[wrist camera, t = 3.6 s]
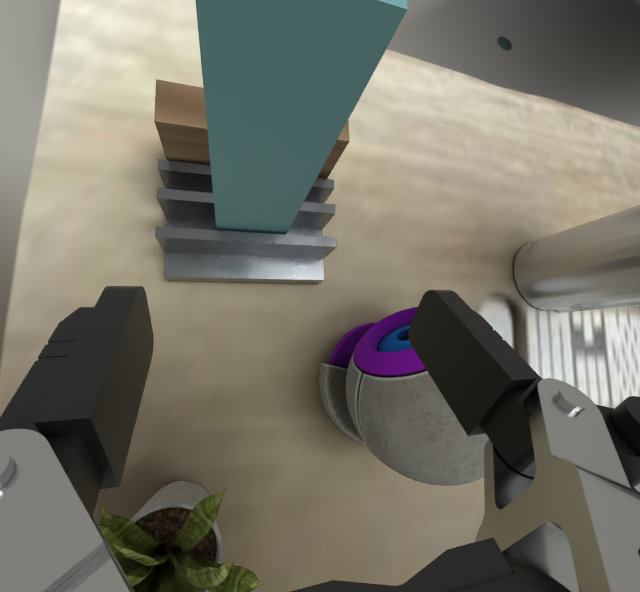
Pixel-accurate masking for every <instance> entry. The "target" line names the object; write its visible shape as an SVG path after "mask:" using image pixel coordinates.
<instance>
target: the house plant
mask: <svg viewBox="0 0 640 592" xmlns="http://www.w3.org/2000/svg"><path fill="white" fill-rule="evenodd" d="M225 490H226V489H225ZM225 490H224V491H222V492H221V493H219V494H216V495H212V496H209V494H208V492H207V491H206V490H205V489H204V487H202V486H200V485H198V484H196V483H193V482H189V481H181V480H180V481H176V482H172V483H170V484H168V485H166V486H164V487H162V488H161V489H160V490H159V491H158V492H157V493H156V494H155V495H154V496H153V497H152V498H151V499H150V500H149V501H148V502H147V503H146V504H145V505H144V506H143V507H142V508H141V509H140V510H139V511H138V512H137V513H136V514H135V515H134V516H133V518H132V519H131V520H128V519H125V518H123V517H119V516H115V515H113V514H111V513H109V512H107V511H105V510H104V508H103V507H102V516H101V522H100V525H98V526H99V528H100V530H101V531H102V533H103V535H104V537H105V539H106V540H107V542H108V544H109V546H110V548H111V549H112V551H113V553H114V555H115V556H116V558H117V560H118V562H119V564H120V565H121V567H122V569H123V571H124V573H125V574H126V576H127V578H128V580H129V581H130V583H131V585H132V587H133V589H134V590H135V592H249V591H251V590H253V589H255V588H256V587H258V586H260V585H261V584H263V583H264V582H260V581H259V579H258V578H257V577H256V575H255V574H254V573H253V572H252V571H250V570H248V569H246V568H243V567H240V566H235V565H233V563H234V561H233V563H224V564H221V560H222V553H223V549H222V540H221V535H220V531H219V527H218V524H217V520H216V517H217V513H218V509H219V505H220V502H221V499H222V496H223V494H224V492H225Z"/></svg>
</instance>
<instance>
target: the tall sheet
mask: <svg viewBox="0 0 640 592" xmlns="http://www.w3.org/2000/svg"><path fill="white" fill-rule="evenodd" d="M196 9H197V20H198V31H199V42H200V53H201V64H202V75H203V87H204V98H205V109H206V120H207V131H208V142H209V153H210V164H211V175H212V186H213V197H214V208H215V219H216V230H220V231H236V232H251V233H267V234H283V235H286V234H287V232H288V230H289V228H290V227H291V225H292V223H293V221H294V219H295V217H296V215H297V214H298V212H299V210H300V208H301V206H302V204H303V202H304V201H305V199H306V197H307V195H308V193H309V191H310V189H311V188H312V186H313V184H314V182H315V180H316V178H317V176H318V175H319V173H320V171H321V169H322V167H323V165H324V163H325V162H326V160H327V158H328V156H329V154H330V152H331V150H332V149H333V147H334V145H335V143H336V141H337V139H338V137H339V136H340V134H341V132H342V130H343V128H344V126H345V124H346V123H347V121H348V119H349V117H350V115H351V113H352V111H353V110H354V108H355V106H356V104H357V102H358V100H359V98H360V97H361V95H362V93H363V91H364V89H365V87H366V85H367V84H368V82H369V80H370V78H371V76H372V74H373V72H374V71H375V69H376V67H377V65H378V63H379V61H380V59H381V58H382V56H383V54H384V52H385V50H386V48H387V46H388V44H389V43H390V41H391V39H392V37H393V35H394V33H395V31H396V30H397V28H398V26H399V24H400V22H401V20H402V18H403V17H404V15H405V13H406V11H407V0H196Z"/></svg>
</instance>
